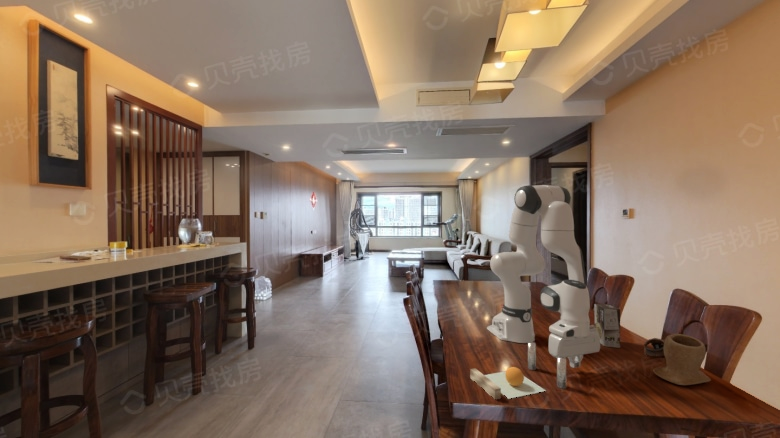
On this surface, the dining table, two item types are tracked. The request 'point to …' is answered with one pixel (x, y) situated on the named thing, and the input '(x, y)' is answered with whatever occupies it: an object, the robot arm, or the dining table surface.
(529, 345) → the post
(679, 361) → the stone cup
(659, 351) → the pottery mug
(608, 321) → the coffee box
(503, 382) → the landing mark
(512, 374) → the ball
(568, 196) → the robot arm
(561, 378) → the post
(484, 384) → the wall
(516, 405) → the dining table surface
